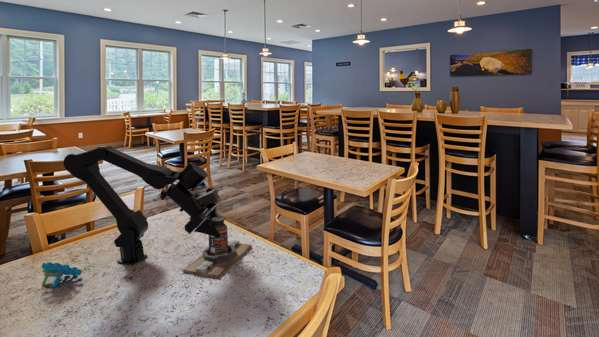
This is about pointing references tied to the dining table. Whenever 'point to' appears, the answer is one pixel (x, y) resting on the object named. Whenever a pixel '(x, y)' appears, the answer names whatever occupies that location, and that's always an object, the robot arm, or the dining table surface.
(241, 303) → the dining table surface
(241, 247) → the octagonal bottle holder
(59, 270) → the teal plastic irregular piece
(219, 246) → the supplement bottle
